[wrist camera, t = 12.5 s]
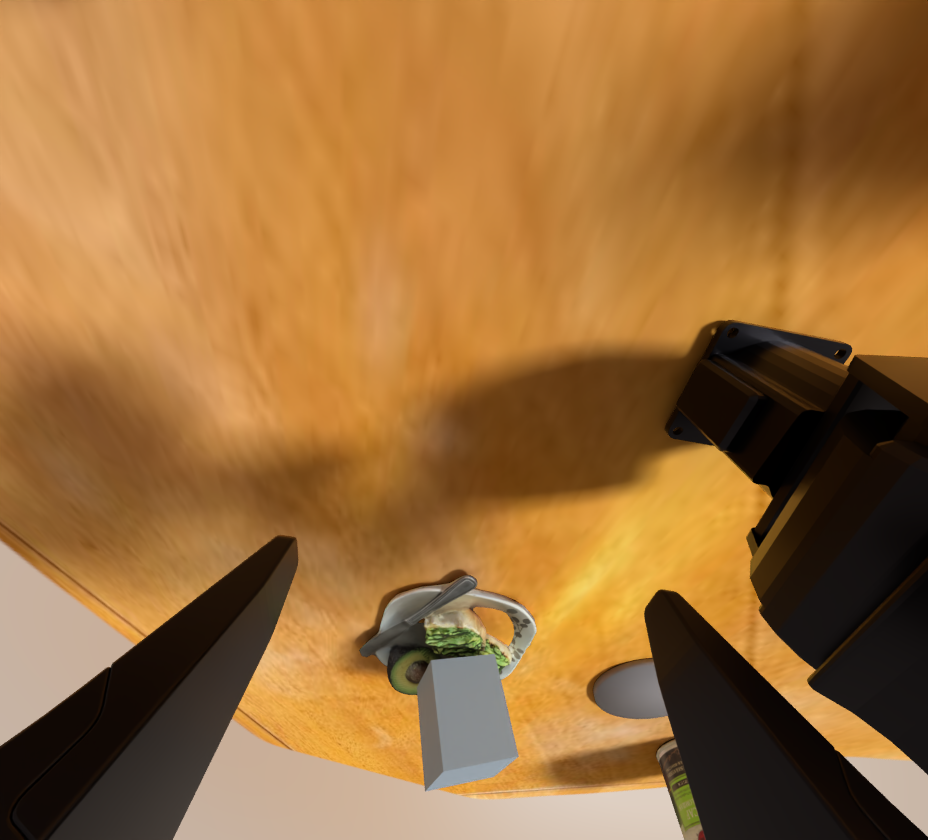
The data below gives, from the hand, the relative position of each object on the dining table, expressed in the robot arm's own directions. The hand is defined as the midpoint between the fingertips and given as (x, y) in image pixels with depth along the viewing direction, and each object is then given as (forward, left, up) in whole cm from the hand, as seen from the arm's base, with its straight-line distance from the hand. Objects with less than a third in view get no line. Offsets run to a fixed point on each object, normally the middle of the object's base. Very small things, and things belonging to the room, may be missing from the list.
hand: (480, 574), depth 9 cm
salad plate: (-2, +22, -13) cm, 26 cm away
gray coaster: (-22, +28, -12) cm, 38 cm away
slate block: (-3, +23, -9) cm, 25 cm away
